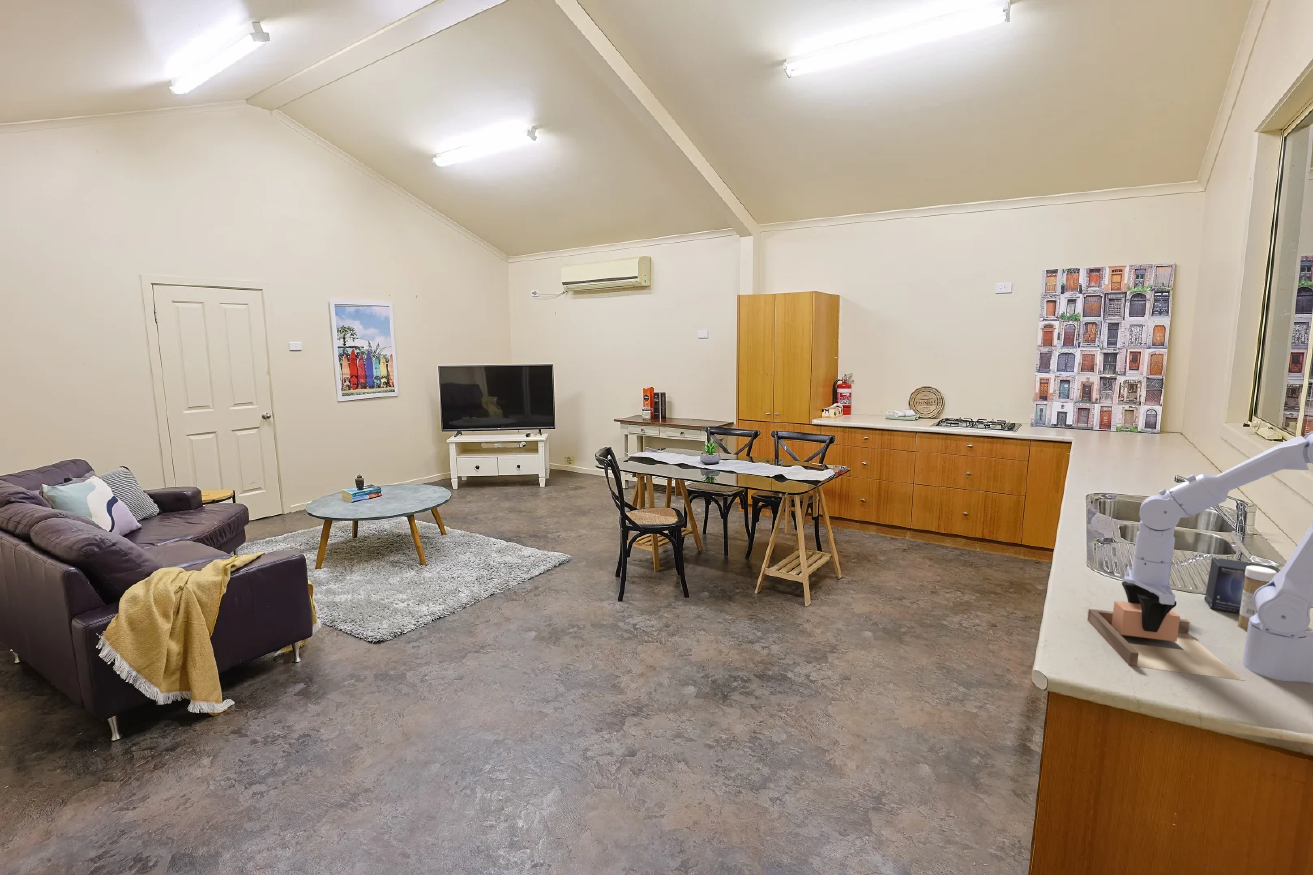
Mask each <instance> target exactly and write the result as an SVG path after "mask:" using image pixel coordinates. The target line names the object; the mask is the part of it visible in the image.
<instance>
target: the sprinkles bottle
mask: <svg viewBox="0 0 1313 875" xmlns="http://www.w3.org/2000/svg"><path fill="white" fill-rule="evenodd" d="M1276 574H1277V572H1276V571H1274V570H1272V569H1269V568H1265V567H1260V566H1247V567H1246V570H1245V575H1246V576H1245V584H1244V589H1243V594H1242V601H1241V607H1240V614H1239V616H1238V622H1237V623H1238V624H1237V625H1236V627H1239V628H1240V629H1241V630H1243V631H1245V632H1246V633H1247V630H1248V624H1249V618H1250V617H1252V616H1254V615H1255V614H1256V613H1257V611H1258V610H1257V607H1256V605H1255V603H1254V599H1253V597H1254V593H1255V592H1256V590H1257V589H1258V588H1260V587H1261V586H1264V585H1266V584H1268V583H1269V582H1270V581H1271V580H1272V578H1273V577H1274V575H1276Z"/></svg>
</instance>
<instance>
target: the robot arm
mask: <svg viewBox="0 0 1313 875" xmlns="http://www.w3.org/2000/svg"><path fill="white" fill-rule="evenodd" d="M1308 464H1312V465H1313V430H1311V431H1310V432H1308V433H1307V434H1305V436H1304V437H1303V435H1300V436H1297V437H1293V438H1290V439H1288V440H1286V441H1284V442H1281V443H1279V444H1277V445H1275V446H1272V447H1271V448H1268V449H1266V450H1265V451H1262V452H1261V453H1258V454H1256V455H1255V456H1253V457H1250V458H1249V459H1247V460H1245V461H1243V462H1240V463H1239V464H1236V465H1235V466H1232V467H1230V468H1229V469H1226V470H1224V471H1223V472H1220V473H1219V474H1217V475H1214V474H1207V473H1206V474H1205V473H1201V474H1198V475H1195V474H1194V473H1192V474H1190V475H1188V476H1186V477H1185V480H1186V481H1184V482H1181V483H1179V484H1177V485H1174V486H1173V487H1171V488H1169V489H1167V490H1166V489H1165V488H1163V489H1160V490H1159V491H1158V495H1157V494H1155V495H1151V496H1148V497H1146V498H1145V499H1144V500H1143V501H1142V502H1141V505H1140V506H1139V512H1138V515H1139V519H1140V521H1139V522H1138V526H1137V528H1138V531H1137V532H1136V537H1135V545H1134V552H1133V560H1132V566H1126V570H1125V576H1123V580H1124V581H1123V580H1122V581H1121V585H1122V588H1123V590H1124V592H1125V595H1126V599H1127V603H1136V604H1141V609H1142V627H1143V630H1144V631H1149V632H1157V631H1158V629H1159V628H1160V626H1161V624H1162V622H1163V620H1164V618H1165V616H1166V615H1167V614H1168V613H1169V611H1170V610H1173V609H1174V608H1175V607H1176V606H1177V603H1178V602H1177V601H1176V594H1175V593H1173V590H1172V585H1171V583H1170V578H1171V571H1172V564H1173V556H1174V555H1173V554H1174V549H1175V545H1176V544H1175V542H1176V537H1175V536H1174V534H1175V529H1176V528H1175V527H1176V526H1177V525H1178V524H1179V522H1180V519H1186V518H1190V517H1192V516H1195V515H1198V514H1200V513H1202V512H1204V511H1206V510H1208V509H1211V508H1213V507H1215V506H1218V505H1220V504H1222V503H1224V502H1226V501H1227V499H1228V495H1229V492H1230V491H1233V490H1235V489H1238V488H1240V487H1242V486H1245V485H1247V484H1250V483H1252V482H1255V481H1258V480H1260V479H1261V478H1265V477H1267V476H1269V475H1272V474H1275V473H1277V472H1280V471H1282V470H1295V471H1298V470H1299V471H1309V470H1310V468H1309V466H1308ZM1253 599H1254V603H1255V605H1256V607H1257V610H1258V611H1257V613H1256V614H1255V615H1254V616H1252V617H1250V618H1249V624H1248V630H1247V632H1246V636H1245V642H1244V648H1243V656H1242V661H1241V665H1242V666H1243V667H1244V668H1245V669H1247V670H1248V671H1250V672H1252V673H1255V674H1257V675H1259V676H1262V677H1265V678H1269V679H1272V680H1276V681H1277V680H1278V681H1283V682H1303V683H1310V684H1313V631H1312V630H1307V629H1308V628H1309V626H1310V624H1311V616H1310V615H1311V613H1310V612H1311V609H1312V607H1313V521H1312V522H1311V524H1310V525H1309V527H1308V529H1307V530H1306V532H1305V534H1304V535H1303V537H1302V538H1301V539H1300V541H1299V542H1298V544H1297V546H1296V547H1295V549H1294V550H1293V552H1292V554H1291V555H1290V556H1289V558H1288V559H1287V561H1286V562H1285V564H1284V566H1283V568H1281V570H1279V572H1278V573H1277V574H1276V575H1274V577H1273V578H1272V580H1271V581H1270V582H1269V583H1268V584H1266V585H1264V586H1261V587H1260V588H1258V589H1257V590H1256V592H1255V593H1254V597H1253Z"/></svg>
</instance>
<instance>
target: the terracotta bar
mask: <svg viewBox="0 0 1313 875" xmlns="http://www.w3.org/2000/svg"><path fill="white" fill-rule="evenodd" d="M1113 602H1114V603H1113V610H1112V612H1113V617H1112V626H1113V627H1114V628H1115V629H1116V630H1117V631H1118V632H1119V633H1120V634H1121V635H1128V636H1136V637H1144V638H1152V639H1160V640H1168V641H1176V642H1177V635H1178V628H1179V621H1180V619H1181V616H1180V615H1179V614H1178V613H1176V612H1175V611H1174V610H1173V609H1171V610H1170V611H1169V613H1168V614H1167V615H1166V616H1165V618H1164V620H1163V622H1162V624H1161V626H1160V628H1159V629H1158V631H1157V632H1149V631H1144V630H1143V627H1142V609H1141V604H1136V603H1128V601H1127V602H1126V601H1125V602H1124V601H1118V600H1117V601H1116V600H1114V601H1113Z"/></svg>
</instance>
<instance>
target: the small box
mask: <svg viewBox="0 0 1313 875" xmlns="http://www.w3.org/2000/svg"><path fill="white" fill-rule="evenodd" d="M1210 562H1211V563H1210V567H1209V574H1208V580H1207V584H1206V590H1205V591H1206V592H1205V595H1204V601H1205V602H1206V603H1207V605H1208V607H1209V608H1210V609H1211V610H1213V611H1214V610H1215V611H1220V612H1226V613H1232V614H1237V615H1240V607H1241V601H1242V594H1243V589H1244V584H1245V576H1246V575H1245V570H1246V567H1247V566H1260V567H1265V568H1269V569H1272V570H1274V571H1276V572H1277V573H1278V572H1280V570H1278V569H1277V568H1275V567H1274V566H1273V565H1268V564H1262V563H1256V562H1247V561H1241V560H1232V559H1227V558H1220V557H1211V560H1210Z"/></svg>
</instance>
